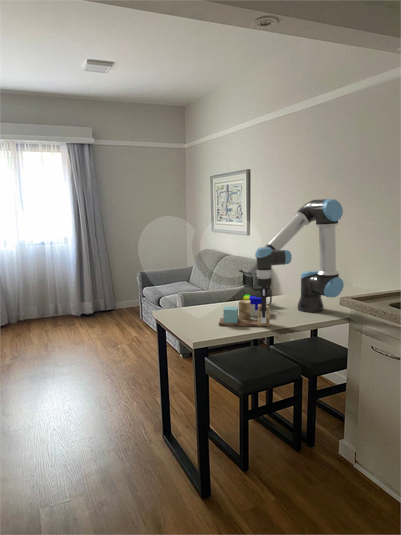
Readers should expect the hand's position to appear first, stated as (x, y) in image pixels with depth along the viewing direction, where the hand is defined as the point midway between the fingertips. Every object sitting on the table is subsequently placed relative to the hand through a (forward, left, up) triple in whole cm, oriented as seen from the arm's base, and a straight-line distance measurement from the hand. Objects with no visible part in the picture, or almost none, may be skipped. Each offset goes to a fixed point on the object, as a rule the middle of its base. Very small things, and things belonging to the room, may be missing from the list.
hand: (263, 321), depth 208 cm
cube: (+17, 0, 0) cm, 17 cm away
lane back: (+15, -9, -2) cm, 18 cm away
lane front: (+10, 0, -2) cm, 10 cm away
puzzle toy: (+6, -23, -2) cm, 24 cm away
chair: (+5, -45, -2) cm, 45 cm away
